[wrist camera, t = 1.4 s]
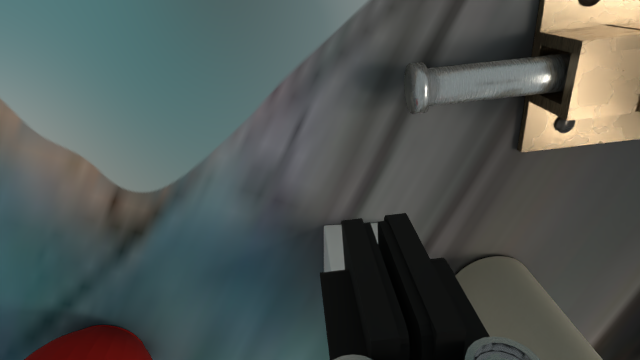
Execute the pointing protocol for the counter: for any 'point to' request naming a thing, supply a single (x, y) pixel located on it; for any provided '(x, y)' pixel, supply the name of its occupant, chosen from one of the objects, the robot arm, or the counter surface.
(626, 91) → the hinge
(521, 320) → the travel mug
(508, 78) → the pin
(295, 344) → the counter surface
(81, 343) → the ceramic cup
